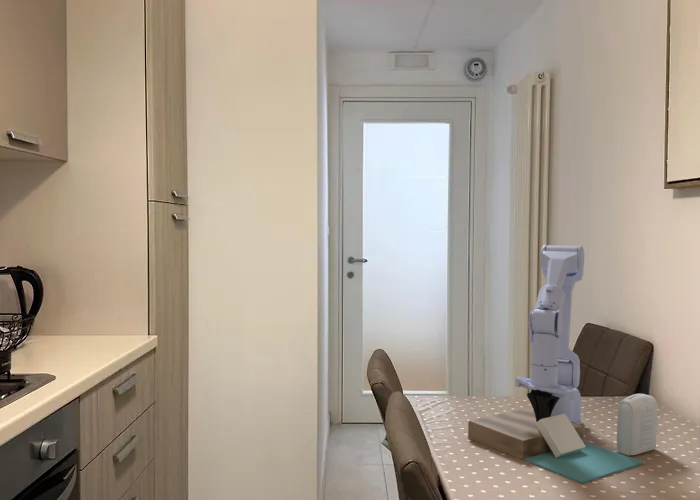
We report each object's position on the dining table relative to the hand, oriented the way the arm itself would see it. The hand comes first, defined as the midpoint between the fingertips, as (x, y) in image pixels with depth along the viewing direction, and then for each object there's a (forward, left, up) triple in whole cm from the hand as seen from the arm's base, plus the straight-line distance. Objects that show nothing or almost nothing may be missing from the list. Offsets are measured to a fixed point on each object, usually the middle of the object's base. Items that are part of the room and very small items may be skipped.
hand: (542, 425), depth 140 cm
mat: (0, +11, -5) cm, 12 cm away
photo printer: (-16, +12, -5) cm, 21 cm away
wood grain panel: (0, -5, -5) cm, 7 cm away
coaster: (0, +4, -1) cm, 4 cm away
